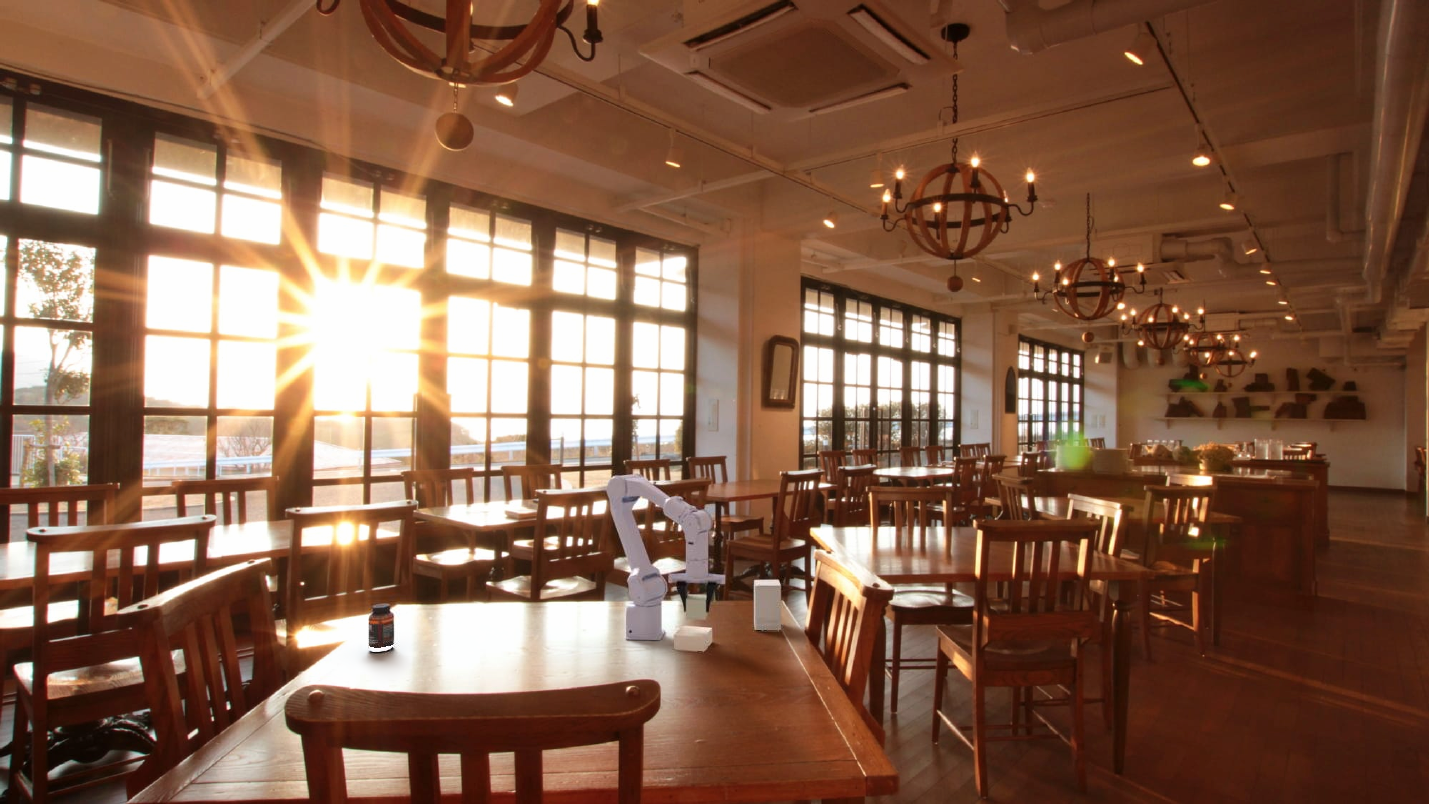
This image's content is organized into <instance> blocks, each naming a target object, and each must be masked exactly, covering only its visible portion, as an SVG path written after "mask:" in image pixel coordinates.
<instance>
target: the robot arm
mask: <svg viewBox="0 0 1429 804" xmlns="http://www.w3.org/2000/svg"><path fill="white" fill-rule="evenodd" d="M605 491H606V494H607V497H608V500H609V509H610V513H611V517H612V518H613V519H612V520H613V522H614V525H615V528H616V530H617V531H616V532H617V533H618V537H619V539H620V542H621V545H622V548H623V552H624V554H625V556H626V559H627V562H628V566H629V567H630V570H631V572H630V574H629V576H628V578H627V580H626V582H627V584H628V595H629V598H630V600H631V602H628V603H627V605H626V612H625V639H626V640H633V641H634V640H635V641H637V640H639V641H661V640H662V638H663V636H664V635H665V632H666V629H663V626H662V620H663V617H662V616H663V615H662V612H663V611H662V609H663V608H662V605H663V603H662V602H663V601H664V597H665V596H666V594H667V592H668V583H669V584H673V583H676V585H675V586H676V590H677V592H678V595H679V596H680V599H681V603H682V607H683V612H684V613H686V599H687V596H688V588H689V587H688V586H689V584H691V583H692V584H706V586H705V587H706V588H705V590H706V593H705V595H706V596H707V601H706V612H707V613H710V609H711V607H710V606H711V603H712V598H713V596H714V593H715V591H716V589H717V586H718V584H720V585H725V584H726V575H725V574H716V573H709V531H710V530H711V529H712V527H713V522H714V521H713V517H712V515H711V514H710V513H709V512H708V510H706V509H697V507H696V506H694V505H690V504H689V503H688V502H686V501H684V497H682V496H671V497H670V496H669V495H667V494H666V493H665V492H664V491H662V490H661V489H660V488H658V487H657V486H655V485H654V484H653V483H651V482H650V481H649V480H648V478H647V477H645V476H643V475H642V474H641V473H638V472H637V473H632V474H625V475H613V476H612V477H611V478H610V479H609V480H608V482H607V485H606V487H605ZM641 497H642V498H644V499H645V500H647V501H649V502H651V503H653V504H655V505H656V506H658V507H660V508H662V510H663V511H662V512H663V515H664V516H666V517H668V519H671V520H672V521H674V522H675V523H677V524H678V525H680V526H681V529H682V531H683V533H684V539H685V572H684V573H683V572H682V573H669V574H668V577H667V578H668V583H667V581H666V578H664V576H662V574H661V571H660V569H659V568H658V567H656V566H655V565H653V564H651V561H650V558H649V555H648V553H647V550H646V548H645V544H644V542H643V539H642V536H641V533H640V530H639V527H638V525H637V522H636V519H635V517H634V515H633V514H634V513H633V509H634V507H635V505H636V504H637V502H638V501H639V500H640V499H641ZM688 583H689V584H688Z"/></svg>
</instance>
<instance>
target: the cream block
mask: <svg viewBox="0 0 1429 804" xmlns="http://www.w3.org/2000/svg"><path fill="white" fill-rule="evenodd" d="M712 643H713V627H703V626H695V625H694V626H692V625H682V626H681V627H680V628H679V629H678V630H677V631H675V633H674V634H673V650H677V651H688V652H697V651H703V652H702V653H705V652H704V651H707V649H708V648H709V647H710V645H711V644H712ZM708 646H709V647H708Z"/></svg>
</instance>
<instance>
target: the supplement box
mask: <svg viewBox="0 0 1429 804" xmlns="http://www.w3.org/2000/svg"><path fill="white" fill-rule="evenodd" d="M753 626H754V631H755V630H762V631H761V632H764V631H763V630H778V631H777V632H780V631H779V630H781V631H782V586H781V583H780V579H754V580H753Z"/></svg>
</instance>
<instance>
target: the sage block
mask: <svg viewBox="0 0 1429 804" xmlns="http://www.w3.org/2000/svg"><path fill="white" fill-rule="evenodd" d="M706 601H707V596H706V594H688V593H687V599H686V612H685V620H695V621H696V620H700V621H703V620H704V621H706V620H707V616H708V612H706Z"/></svg>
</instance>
